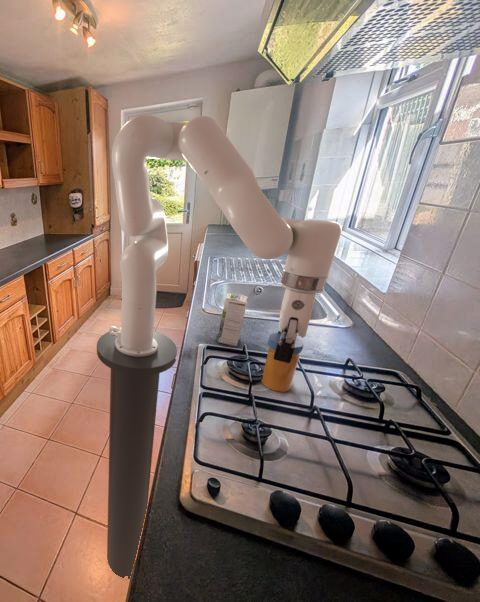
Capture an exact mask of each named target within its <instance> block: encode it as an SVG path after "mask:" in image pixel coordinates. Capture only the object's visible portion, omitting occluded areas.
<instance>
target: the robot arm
mask: <svg viewBox="0 0 480 602" xmlns="http://www.w3.org/2000/svg"><path fill="white" fill-rule="evenodd" d="M147 159H154V160H169V161H181V162H183V161H184V162H187V163H188V164H189V166H190V168H191V169H192V170H193V171H194V173H195V174H196V175H197V177H198V178H199V179H200V180H201V182H202V183H203V186H205V188H206V189H207V190H208V192H209V193H210V195H211V196H212V198H213V199H214V202H215V203H216V205H217V206H218V207H219V209H220V210H221V212H222V213H223V215H224V216H225V218H226V220H227V221H228V223H229V224H230V226H231V227H232V228H233V230H234V231H235V233H236V234H237V236H238V237H239V238H240V240H241V241H242V242H243V244H244V245H245V246H246V248H247V249H248V250H249V251H250V253H251V254H253V256H255V257H258V258H260V259H263V260H274V259H277V258H280V257H282V256H284V255H285V254H286V253H287V256H286V260H285V264H284V268H283V272H282V276H281V280H280V282H279V283H280V285H279V286H281V287H282V288H284V289H285V290H284V294H283V298H282V302H281V307H280V312H279V317H278V318H279V320H278V332H277V333H281V337H280V341H279V343H277V346H276V350H275V354H274V359H275V360H278V361H282V362H286V363H290V362H291V359H292V355H293V352H294V349H295V347H294V346H295V341H296V337H297V338H298V336H299V337H301V338H305V337H306V335H307V331H308V328H309V324H310V321H311V318H312V313H313V310H314V306H315V301H316V296H317V294H320V293H322V292H323V291H324V289H325V286H326V283H327V279H328V275H329V274H330V273H329V272H330V269H331V267H332V264H333V260H334V258H335V254H336V251H337V247H338V244H339V241H340V238H341V235H342V232H343V227H342V225H341V224H340V223H339V222H337V221H333V220H328V219H327V220H325V219H303V220H302V219H295V218H287V217H283V216H280V214H279V213H278V212H277V210H276V208H274V206H273V205H272V204H271V202H270V201H269V199H268V197H267V196H266V195H265V193H264V192H263V190H262V188H261V187H260V185H259V184H258V180H257V178H256V175H255V173H254V172H253V169H252V168H251V167H250V165H249V163H247V161H246V159H245V158H244V157H243V155H242V154H241V153H240V151H239V150H238V149H237V148H236V147H235V145H234V144H233V142H232V141H231V140H230V139H229V138H228V136H227V135H226V133H225V132H224V129H223V128H222V126H221V125H220V124H219V123H218V122H217V121H216V120H215V119H214V118H212V117H211V116H207V115H199V116H195V117H193V118H191V119H190V120H189V121H187V122H186V121H185V122H184V121H183V122H182V121H165V120H163V119H161V118H159V117H158V116H155V115H153V114H144V113H143V114H137V115H136V116H134V117H132V118H130V119H129V120H128V121H126V122H125V124H123V125H122V127H121V128H120V129H119V131H118V132H117V134H116V136H115V138H114V141H113V144H112V149H111V169H112V175H113V180H114V181H113V182H114V188H115V197H116V198H115V199H116V206H117V213H118V221H119V226H120V229H121V231H122V232H123V233H124V234H125V235H126V236H129V237H134V239H135V241H134V242H132V243H130V244H128V246H126V247H125V248H124V250H123V252H122V254H121V255H120V260H119V268H120V269H119V270H120V276H121V308H120V309H121V310H120V315H121V316H120V327H117V326H114V325H110V327H109V332H110V335H111V336H116V337H117V339H116V341H115V346H116V348H117V349H118V350H119V351H120V352H121V353H123V354H126V355H129V356H135V357H143V356H149V355H151V354H153V353H155V352H156V351H157V348H158V343H157V341H156V340H155V339H154V338H153V331H155V330H154V327H155V315H156V304H157V276H156V275H157V270H158V269H159V268H161V266H163V264H164V263H165V262H166V261H167V260H168V257H169V239H168V238H169V237H168V229H167V217H166V212H165V208H164V206H163V205H162V203H161V202H160V200H158V199H157V198H156V197H153V196H151V195H152V194H151V189H150V188H151V187H150V185H151V184H150V176H149V173H148V168H147V165H146V162H147ZM284 334H285V335H286V338H285V337H284ZM283 338H284V339H283Z"/></svg>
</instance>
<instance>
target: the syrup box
mask: <svg viewBox="0 0 480 602" xmlns="http://www.w3.org/2000/svg"><path fill="white" fill-rule="evenodd" d="M248 299H249V296H247V295H243V294H238V293H237V294H236V293H227V295H226V297H225V299H224V303H223V310H222V313H221V318H220V324H219V330H218V333H217V334H218V335H217V340H216V342H217V343H219V344H224V345H228V346H233V347H238V345H239V341H240V336H241V331H242V328H243V327H242V326H243V323H244V320H245V319H244V318H245V315H246V314H245V313H246V310H247V304H248Z"/></svg>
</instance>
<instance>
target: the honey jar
mask: <svg viewBox="0 0 480 602" xmlns="http://www.w3.org/2000/svg"><path fill="white" fill-rule="evenodd" d="M268 347H269V346H268ZM274 354H275V350H273V349H272V348H270V347H269V348H268V350H267V355H266V358H265V363H264V368H263V371H262V375H263V379H262V378H261V379H260V380H261V383H262V385H264V386H265V388H268V389H270V390H271V391H274V392H280V393H281V392H283V393H284V392H288V391H289V390H291V386H292V383H293V380H294V376H295V373H296V370H297V366H298V362H299V359H300V353H299V354H295V355H292V359H291V362H290V363H286V362H282V361H278V360H275V359H274Z"/></svg>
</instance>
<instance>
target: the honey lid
mask: <svg viewBox="0 0 480 602" xmlns="http://www.w3.org/2000/svg"><path fill="white" fill-rule="evenodd" d="M280 337H281V333H278V332H273V333H270V334H269V335H268V339H267V343H266V344H267V346H268V347H270V348H272V349H273V350H276V346H277V343H279V341H280ZM284 337H285V338H286V335H285V334H284ZM283 339H284V338H283ZM294 347H295V349H294V352H293V355H295V354H299V355H300V354H301V353H302V352H303V349H304V341H303V340H302V339H300V338H298V336H297V337H296V341H295V346H294Z"/></svg>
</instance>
